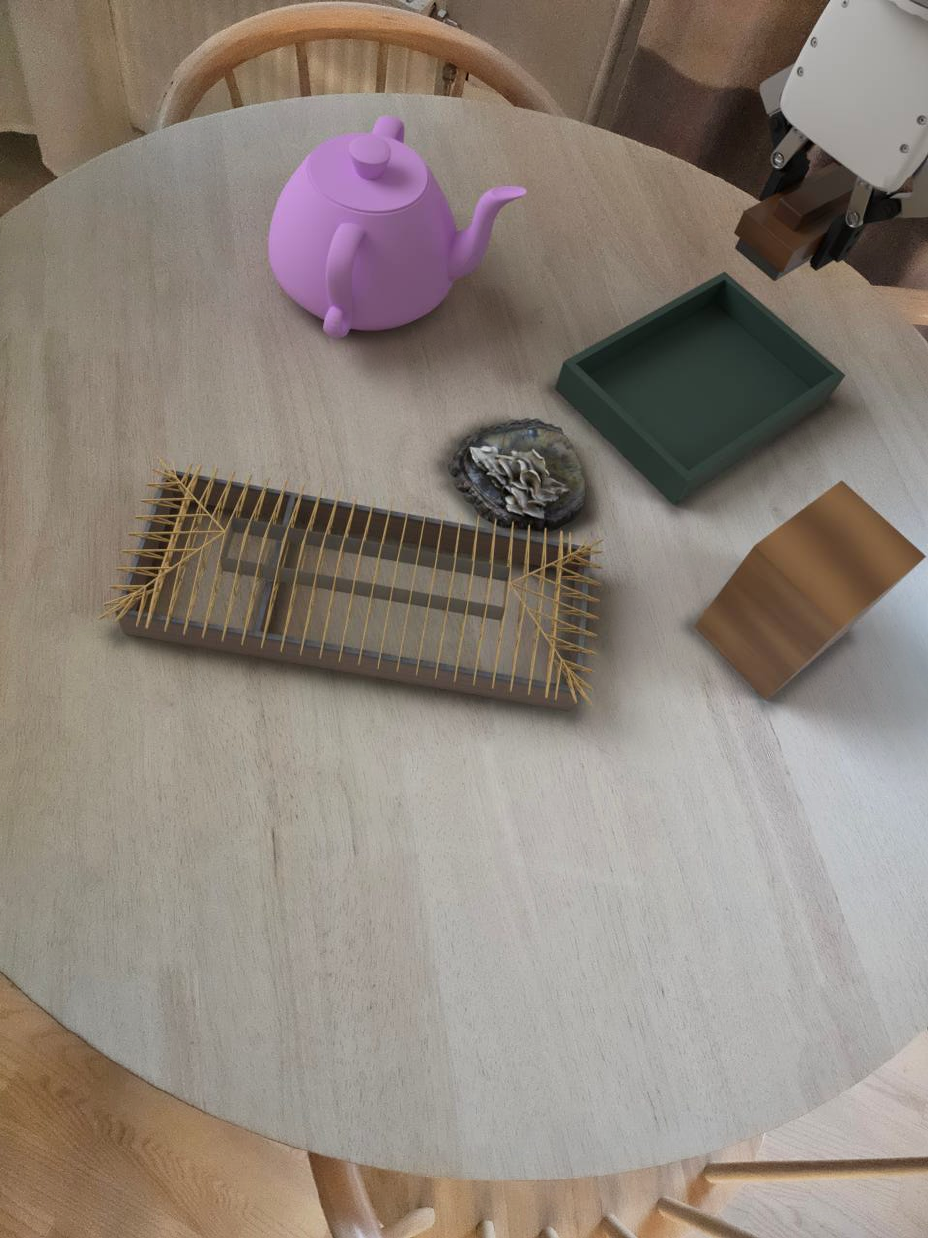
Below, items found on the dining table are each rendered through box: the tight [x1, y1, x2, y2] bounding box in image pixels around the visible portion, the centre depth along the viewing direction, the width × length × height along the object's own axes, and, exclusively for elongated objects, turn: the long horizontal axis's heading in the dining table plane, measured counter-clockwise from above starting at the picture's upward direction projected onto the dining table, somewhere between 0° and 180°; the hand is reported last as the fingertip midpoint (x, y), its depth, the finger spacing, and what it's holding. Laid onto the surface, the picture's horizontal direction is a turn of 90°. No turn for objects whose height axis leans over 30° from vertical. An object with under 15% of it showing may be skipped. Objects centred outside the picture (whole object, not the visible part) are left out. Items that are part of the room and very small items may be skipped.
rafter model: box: [97, 455, 604, 712], centre depth 70 cm, size 35×14×6 cm, turn 83°
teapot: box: [267, 115, 527, 339], centre depth 83 cm, size 22×22×14 cm
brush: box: [733, 162, 857, 282], centre depth 65 cm, size 10×4×4 cm, turn 130°
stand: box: [694, 480, 927, 701], centre depth 71 cm, size 10×8×12 cm
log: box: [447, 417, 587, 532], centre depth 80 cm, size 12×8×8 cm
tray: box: [554, 271, 846, 506], centre depth 86 cm, size 22×16×4 cm
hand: (797, 236), depth 67 cm, fingers closed on brush, 4 cm apart
